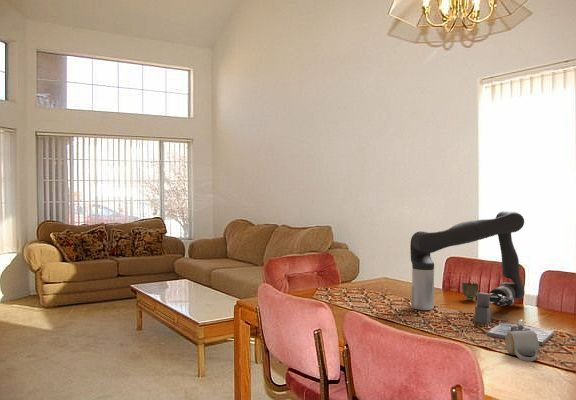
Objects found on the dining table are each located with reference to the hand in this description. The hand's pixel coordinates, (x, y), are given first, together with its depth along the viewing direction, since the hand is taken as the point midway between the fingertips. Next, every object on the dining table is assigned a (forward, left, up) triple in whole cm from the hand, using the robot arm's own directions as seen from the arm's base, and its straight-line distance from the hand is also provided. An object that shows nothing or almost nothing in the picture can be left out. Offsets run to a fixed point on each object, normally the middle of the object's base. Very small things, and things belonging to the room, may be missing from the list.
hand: (489, 302), depth 207 cm
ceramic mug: (+8, -48, -7) cm, 49 cm away
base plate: (+9, -22, -7) cm, 25 cm away
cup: (-7, +34, -7) cm, 35 cm away
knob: (-3, -7, -7) cm, 10 cm away
